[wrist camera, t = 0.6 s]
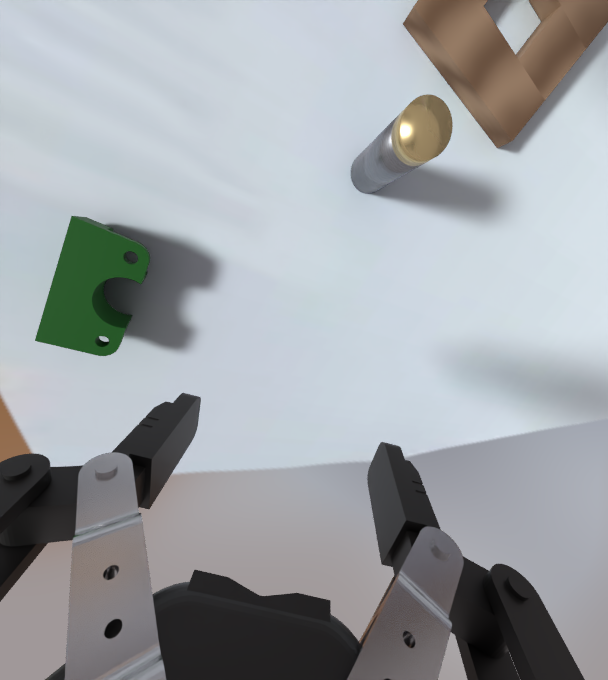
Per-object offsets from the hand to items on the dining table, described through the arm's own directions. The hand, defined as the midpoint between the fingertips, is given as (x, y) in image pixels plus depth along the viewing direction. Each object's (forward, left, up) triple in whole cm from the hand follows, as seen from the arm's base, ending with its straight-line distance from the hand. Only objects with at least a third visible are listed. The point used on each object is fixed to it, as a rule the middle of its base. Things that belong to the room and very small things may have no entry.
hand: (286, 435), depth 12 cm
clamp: (-15, -6, -22) cm, 28 cm away
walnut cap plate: (+1, +40, -22) cm, 46 cm away
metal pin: (-1, +20, -22) cm, 30 cm away
